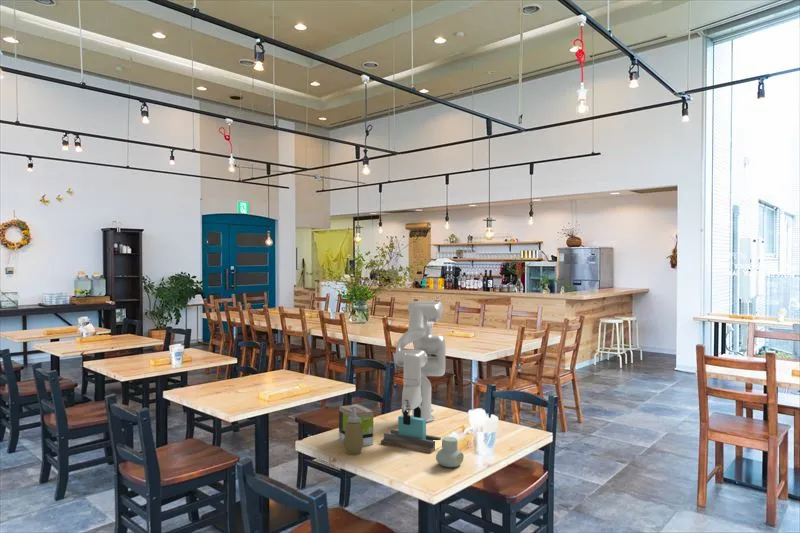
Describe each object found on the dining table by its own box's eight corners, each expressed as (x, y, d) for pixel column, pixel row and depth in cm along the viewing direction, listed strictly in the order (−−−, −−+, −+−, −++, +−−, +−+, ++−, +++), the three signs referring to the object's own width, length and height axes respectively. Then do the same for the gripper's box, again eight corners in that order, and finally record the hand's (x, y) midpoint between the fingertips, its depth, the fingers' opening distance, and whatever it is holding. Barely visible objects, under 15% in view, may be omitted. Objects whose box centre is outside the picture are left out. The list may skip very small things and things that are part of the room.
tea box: (374, 444, 227) (374, 410, 227) (353, 448, 221) (353, 413, 221) (358, 435, 239) (358, 402, 240) (338, 439, 234) (338, 405, 234)
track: (394, 436, 238) (394, 427, 238) (443, 445, 226) (443, 435, 226) (380, 443, 228) (380, 434, 228) (430, 453, 216) (430, 443, 216)
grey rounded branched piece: (452, 471, 196) (452, 444, 196) (433, 467, 201) (433, 440, 201) (465, 463, 205) (465, 437, 205) (447, 458, 210) (447, 433, 210)
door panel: (401, 437, 231) (401, 415, 231) (425, 442, 225) (426, 418, 226) (398, 439, 229) (398, 416, 229) (422, 444, 223) (422, 420, 223)
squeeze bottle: (341, 450, 219) (341, 407, 219) (359, 448, 222) (360, 405, 222) (347, 457, 211) (347, 412, 211) (366, 454, 214) (366, 410, 215)
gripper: (413, 377, 237) (413, 414, 237) (394, 385, 222) (394, 425, 222) (428, 378, 233) (428, 417, 233) (410, 387, 218) (410, 428, 218)
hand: (412, 421), depth 228 cm, fingers open, 9 cm apart
